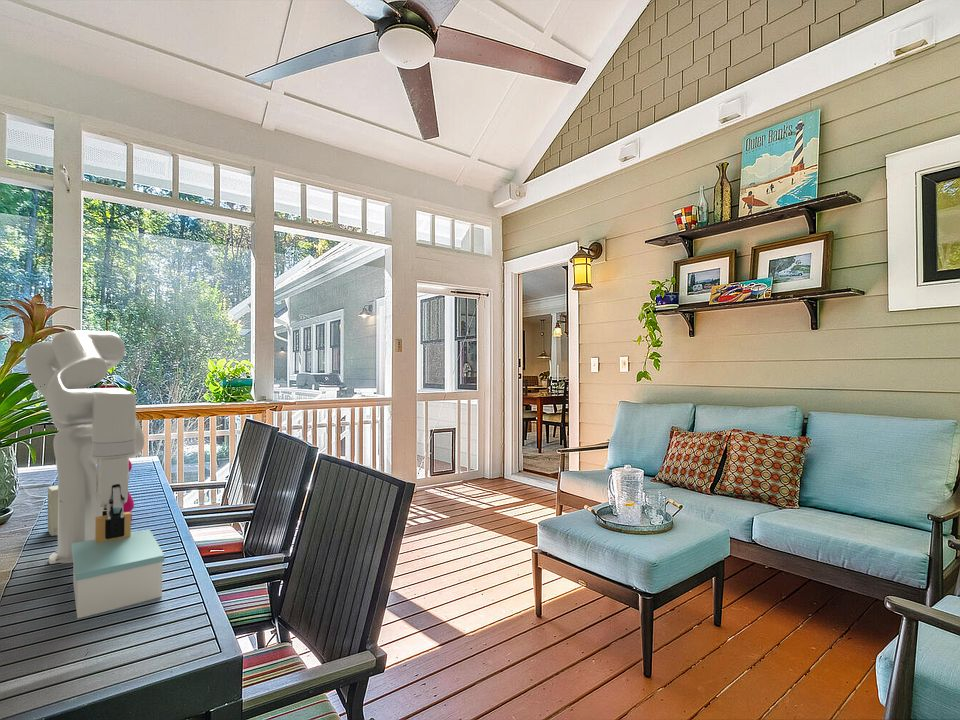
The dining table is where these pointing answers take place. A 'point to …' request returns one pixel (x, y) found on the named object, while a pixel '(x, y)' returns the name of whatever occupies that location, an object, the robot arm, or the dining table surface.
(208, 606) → the dining table surface
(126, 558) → the lid
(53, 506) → the skincare box
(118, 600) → the tub
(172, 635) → the dining table surface
